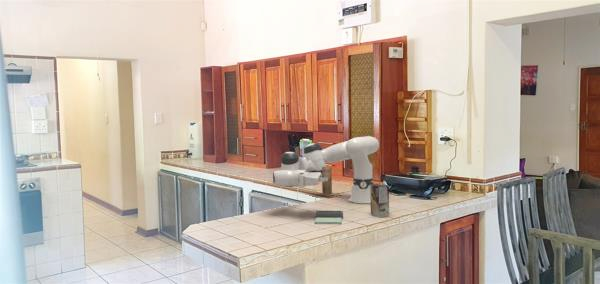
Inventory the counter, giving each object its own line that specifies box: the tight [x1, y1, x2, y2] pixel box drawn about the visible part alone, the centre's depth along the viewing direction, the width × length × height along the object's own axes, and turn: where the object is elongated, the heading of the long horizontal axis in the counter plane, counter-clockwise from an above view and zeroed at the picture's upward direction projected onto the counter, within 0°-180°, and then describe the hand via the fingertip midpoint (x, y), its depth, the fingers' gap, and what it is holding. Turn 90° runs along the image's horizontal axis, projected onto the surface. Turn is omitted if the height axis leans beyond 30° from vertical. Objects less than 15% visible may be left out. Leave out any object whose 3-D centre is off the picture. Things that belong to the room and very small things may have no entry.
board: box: [314, 217, 343, 225], centre depth 230 cm, size 9×13×1 cm
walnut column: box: [321, 165, 333, 195], centre depth 243 cm, size 5×5×14 cm
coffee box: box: [370, 183, 390, 218], centre depth 241 cm, size 9×6×16 cm
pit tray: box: [315, 210, 344, 220], centre depth 239 cm, size 5×14×3 cm, turn 83°
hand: (328, 178), depth 243 cm, fingers closed on walnut column, 5 cm apart
